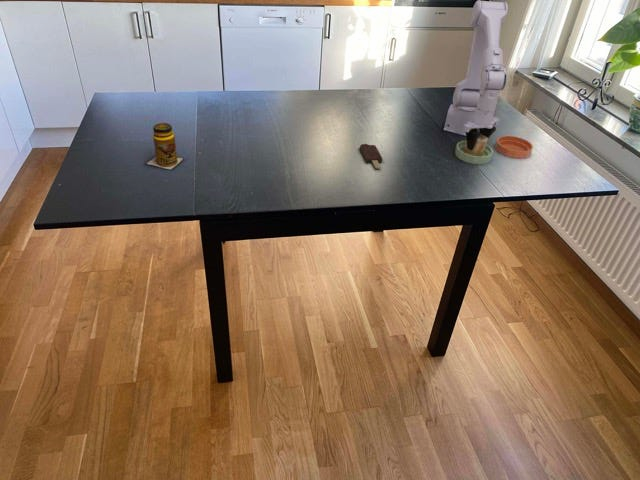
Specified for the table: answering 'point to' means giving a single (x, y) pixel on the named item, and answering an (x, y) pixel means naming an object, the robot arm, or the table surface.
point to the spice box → (477, 147)
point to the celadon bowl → (473, 159)
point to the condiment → (164, 147)
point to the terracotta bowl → (513, 147)
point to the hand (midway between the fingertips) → (475, 147)
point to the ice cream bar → (371, 154)
